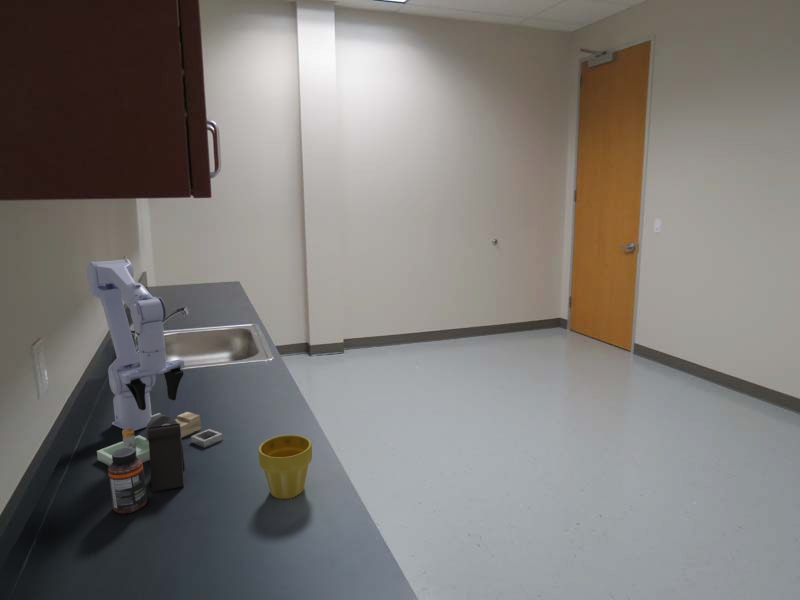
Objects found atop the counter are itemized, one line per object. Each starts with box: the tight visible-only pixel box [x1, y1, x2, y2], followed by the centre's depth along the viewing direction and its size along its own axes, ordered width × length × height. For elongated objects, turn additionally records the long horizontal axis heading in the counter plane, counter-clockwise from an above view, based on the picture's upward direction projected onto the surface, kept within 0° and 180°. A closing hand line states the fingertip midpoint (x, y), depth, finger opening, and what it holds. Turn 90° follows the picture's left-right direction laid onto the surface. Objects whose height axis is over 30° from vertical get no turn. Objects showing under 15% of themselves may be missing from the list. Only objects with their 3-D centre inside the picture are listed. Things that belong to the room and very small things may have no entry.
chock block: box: [174, 411, 202, 439], centre depth 137 cm, size 5×7×4 cm
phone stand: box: [148, 423, 186, 494], centre depth 112 cm, size 9×6×12 cm, turn 19°
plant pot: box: [257, 434, 313, 500], centre depth 108 cm, size 10×10×10 cm
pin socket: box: [190, 428, 224, 448], centre depth 131 cm, size 5×5×2 cm
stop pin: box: [121, 428, 137, 454], centre depth 123 cm, size 2×2×6 cm
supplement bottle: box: [107, 448, 148, 514], centre depth 103 cm, size 6×6×11 cm
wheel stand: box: [144, 412, 177, 440], centre depth 130 cm, size 5×7×7 cm
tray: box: [96, 434, 150, 467], centre depth 124 cm, size 10×10×2 cm
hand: (157, 404), depth 130 cm, fingers open, 7 cm apart
